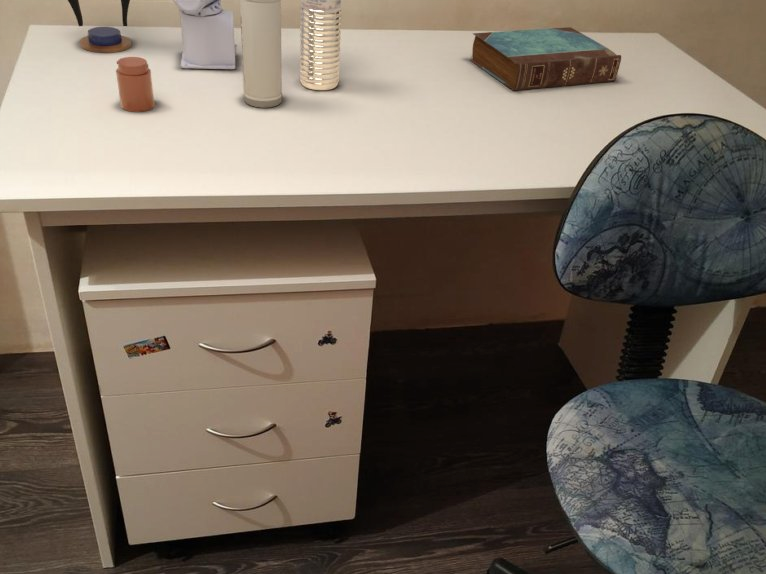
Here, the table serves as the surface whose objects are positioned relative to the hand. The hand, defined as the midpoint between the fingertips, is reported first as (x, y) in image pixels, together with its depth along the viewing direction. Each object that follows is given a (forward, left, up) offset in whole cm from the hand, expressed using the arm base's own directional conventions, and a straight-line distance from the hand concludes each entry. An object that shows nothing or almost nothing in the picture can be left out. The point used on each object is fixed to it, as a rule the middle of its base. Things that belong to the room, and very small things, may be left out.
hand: (103, 24), depth 146 cm
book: (-82, +8, -4) cm, 82 cm away
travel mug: (-28, +26, -4) cm, 38 cm away
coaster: (0, 0, -3) cm, 3 cm away
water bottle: (-38, +18, -4) cm, 42 cm away
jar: (-8, +29, -3) cm, 30 cm away
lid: (0, 0, -2) cm, 2 cm away
